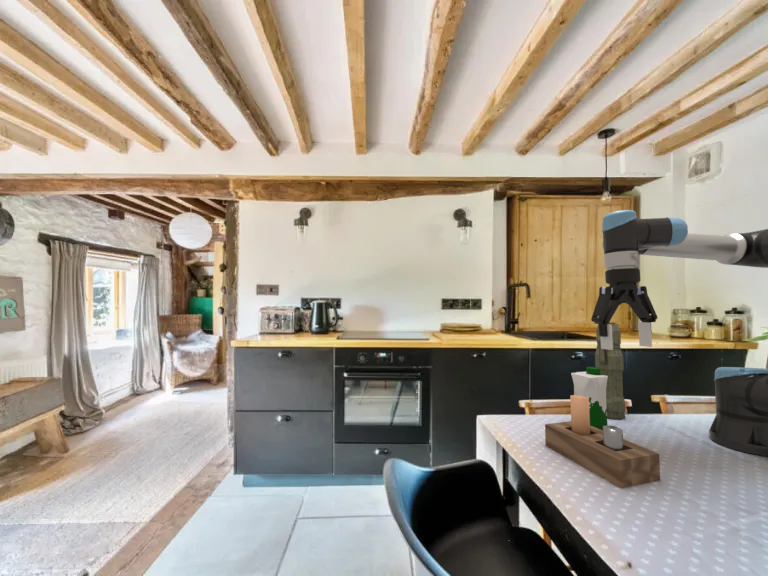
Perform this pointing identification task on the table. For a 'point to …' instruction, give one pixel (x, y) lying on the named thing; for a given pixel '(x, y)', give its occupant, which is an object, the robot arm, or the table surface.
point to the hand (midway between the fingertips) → (626, 347)
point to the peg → (580, 415)
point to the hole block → (604, 455)
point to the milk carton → (593, 394)
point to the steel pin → (613, 437)
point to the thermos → (612, 373)
